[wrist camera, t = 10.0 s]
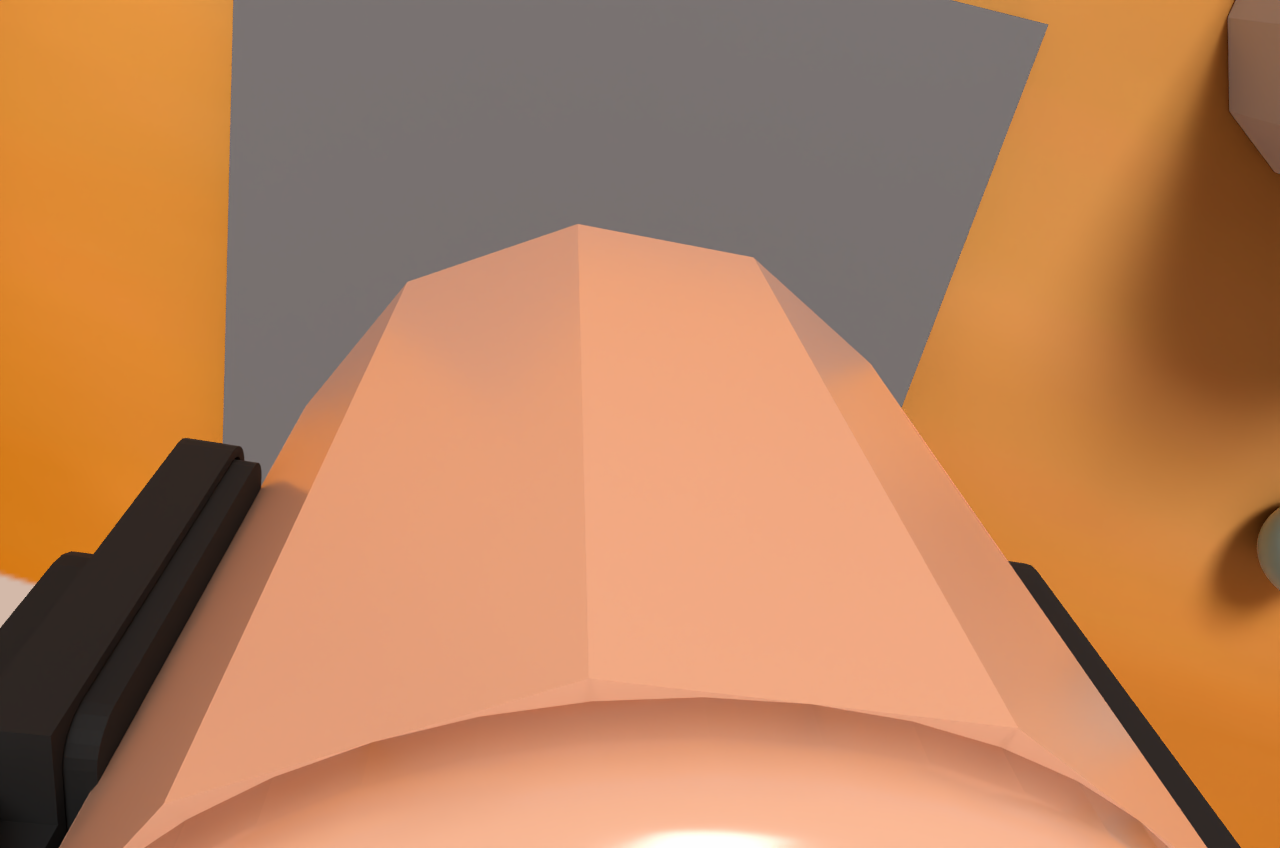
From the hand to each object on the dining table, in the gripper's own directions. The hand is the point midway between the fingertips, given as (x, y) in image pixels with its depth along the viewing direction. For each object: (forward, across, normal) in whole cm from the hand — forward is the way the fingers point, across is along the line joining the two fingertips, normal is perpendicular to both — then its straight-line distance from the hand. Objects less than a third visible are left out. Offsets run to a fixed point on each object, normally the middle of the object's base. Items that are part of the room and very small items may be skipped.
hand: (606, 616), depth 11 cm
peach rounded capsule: (+2, 0, 0) cm, 2 cm away
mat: (+13, 0, 0) cm, 13 cm away
